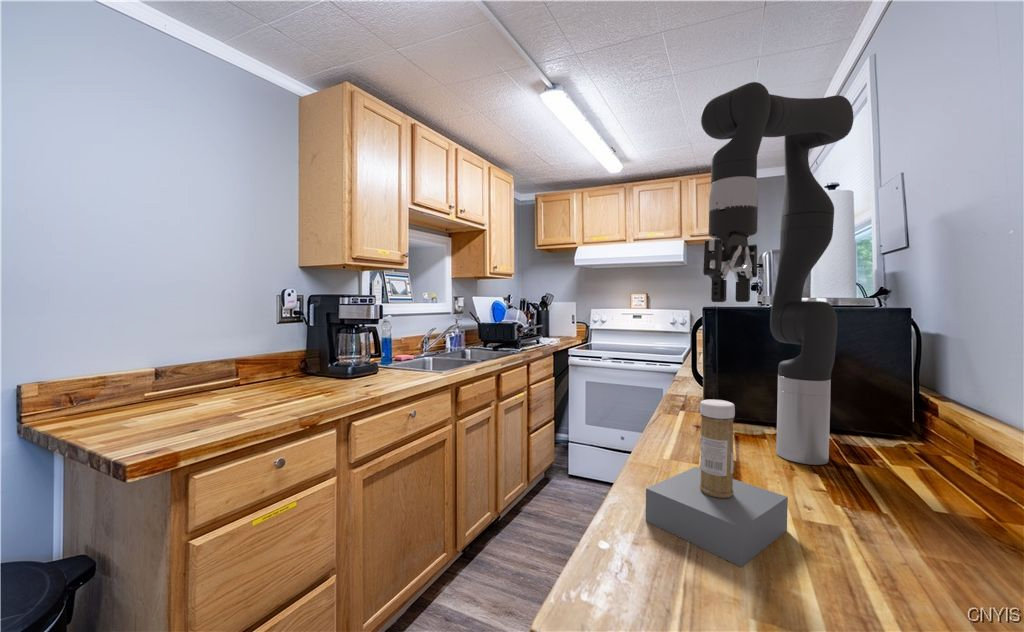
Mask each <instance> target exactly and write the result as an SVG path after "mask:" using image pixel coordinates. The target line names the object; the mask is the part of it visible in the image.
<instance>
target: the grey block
mask: <svg viewBox="0 0 1024 632" xmlns="http://www.w3.org/2000/svg"><path fill="white" fill-rule="evenodd" d="M700 484H701V468H700V467H698V466H694V467H692V468H689V469H687V470H686V471H682V472H681V473H678V474H676V475H674V476H672V477H669V478H667V479H664V480H662V481H660V482H658V483H655V484H653V485H651V486H648V487H646V488H645V522H647V523H649V524H651V525H653V526H655V527H657V528H660V529H661V530H663V531H665V530H666V532H667V531H668V532H667V533H670V534H672V533H673V534H672V535H674V534H675V535H674V536H676V535H677V536H676V537H678V536H680V537H681V538H680V537H679V538H680V539H682V538H683V539H682V540H684V539H685V540H684V541H686V542H688V541H689V542H688V543H690V542H691V544H693V545H694V546H697V548H698V547H699V548H701V549H702V550H705V551H707V552H709V553H711V554H713V555H715V556H717V557H719V558H721V559H724V560H725V561H727V560H728V562H729V561H730V562H729V563H731V562H733V563H734V565H735V566H737V567H739V568H742V567H744V565H746V564H747V563H749V561H751V560H752V559H754V557H756V556H757V555H758V554H760V553H761V552H762V551H764V549H766V548H767V547H768V546H770V545H771V544H772V543H774V542H775V541H776V540H777V539H778V538H780V537H781V536H783V535H784V534H785V533H786V532H787V531H788V507H789V506H788V505H789V502H788V501H789V498H788V496H786V495H783V494H780V493H778V492H774V491H771V490H769V489H765V488H762V487H758V486H756V485H752V484H750V483H747V482H743V481H740V480H737V479H735V478H733V495H732V496H731V497H728V498H717V497H712V496H709V495H707V494H705V493H704V492H702V491H701V490H700ZM733 563H732V564H733Z"/></svg>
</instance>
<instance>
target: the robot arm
mask: <svg viewBox="0 0 1024 632" xmlns="http://www.w3.org/2000/svg"><path fill="white" fill-rule="evenodd" d="M853 109H854V108H853V106H852V104H851V102H850V100H849V99H848V98H847V97H845V96H844V95H839V94H838V95H837V94H836V95H830V96H826V97H813V98H810V97H808V98H801V97H800V98H798V97H797V98H796V97H789V96H783V95H776V94H771V93H769V91H768V89H767V88H766V86H765V85H764V84H762V83H761V82H758V81H752V82H748V83H746V84H743V85H740V86H738V87H736V88H734V89H732V90H729V91H727V92H724V93H723V94H720V95H718V96H716V97H714V98H712V99H710V100H709V101H708V102H707V103H706V104H705V106H704V107H703V109H702V111H701V114H700V125H701V127H702V129H703V131H704V132H705V134H707V135H706V136H709V137H710V138H713V139H715V140H719V141H720V140H722V141H723V140H729V142H727V143H726V144H723V146H721V147H720V148H718V149H716V150H715V152H713V154H712V157H711V164H710V166H711V168H710V171H711V172H710V189H709V190H710V191H709V197H708V198H709V199H708V236H709V237H710V238H711V239H706V240H705V241H704V251H703V252H704V254H703V269H702V270H703V272H702V273H703V275H704V276H708V278H709V280H711V293H710V295H711V298H710V300H711V302H712V303H725V302H727V285H728V284H727V283H728V282H727V277H728V275H729V272H731V273H733V275H734V278H735V280H736V281H735V301H736V302H737V303H748V302H750V300H751V281H753V279H754V278H757V277H758V246H757V244H756V243H755V244H749V242H748V238H749V237H752V236H755V235H756V234H757V233H758V219H759V217H758V213H759V212H758V210H759V209H758V208H759V204H758V203H759V190H758V181H757V178H758V177H757V176H758V174H757V173H758V172H757V171H758V154H759V151H760V147H761V143H762V140H763V138H781V137H783V149H784V150H783V153H784V189H783V199H782V200H783V202H782V209H781V211H782V212H781V219H780V220H781V222H780V237H779V238H780V240H779V242H780V243H779V255H778V256H779V257H778V265H777V273H776V274H777V275H776V281H775V286H774V291H773V296H772V302H771V308H770V314H769V317H770V318H769V328H770V332H771V334H772V337H773V338H774V339H775V340H776V341H777V342H779V343H783V344H793V345H800V346H801V349H800V354H799V355H797V356H796V357H794V358H791V359H787V360H781V361H780V362H779V363H778V367H777V407H776V408H777V409H776V451H775V453H776V455H777V456H779V457H781V458H783V459H784V460H787V461H790V462H795V463H798V464H803V465H804V464H805V465H810V466H811V465H814V466H819V465H821V466H822V465H826V464H828V463H829V459H830V458H829V455H830V454H829V453H830V427H831V426H830V424H831V423H830V421H831V419H830V418H831V383H832V382H831V381H832V380H831V378H832V371H833V368H834V366H835V365H834V364H835V359H836V346H837V337H838V316H837V312H836V310H835V308H834V307H833V304H830V303H829V302H827V301H821V300H819V301H818V300H817V301H815V300H813V301H811V300H808V301H807V300H804V301H803V291H804V287H805V283H806V281H807V278H808V276H809V274H810V273H811V271H812V269H813V268H814V267H815V265H816V264H817V263H818V261H819V260H820V259H821V257H822V256H823V254H825V252H826V250H827V249H828V247H829V245H830V243H831V242H832V239H833V232H834V221H835V206H834V203H833V201H832V199H831V197H830V196H829V194H828V193H827V191H826V190H825V189H824V188H823V186H822V185H820V183H819V181H818V180H817V179H816V177H815V176H814V175H813V173H812V171H811V169H810V168H811V167H810V162H809V152H810V150H811V149H814V148H817V147H822V146H826V145H830V144H834V143H837V142H839V141H841V140H843V139H844V138H846V137H847V136H848V135H849V134H850V132H851V130H852V128H853V125H854V111H853Z"/></svg>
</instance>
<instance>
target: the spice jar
mask: <svg viewBox="0 0 1024 632" xmlns="http://www.w3.org/2000/svg"><path fill="white" fill-rule="evenodd" d="M699 405H700V409H699V412H700V413H699V414H700V417H701V421H700V422H701V424H700V428H701V429H700V431H701V432H700V454H699V455H700V460H699V461H700V465H699V466H700V467H699V468H701V484H700V490H701V491H702V492H704V493H705V494H707V495H709V496H712V497H717V498H728V497H731V496H732V495H733V479H734V478H733V477H734V475H733V473H734V451H733V450H734V418H735V415H736V410H735V409H736V408H735V407H736V406H735V404H734V403H733V402H730V401H728V400H723V399H703V400H701V401H700V404H699Z"/></svg>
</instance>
